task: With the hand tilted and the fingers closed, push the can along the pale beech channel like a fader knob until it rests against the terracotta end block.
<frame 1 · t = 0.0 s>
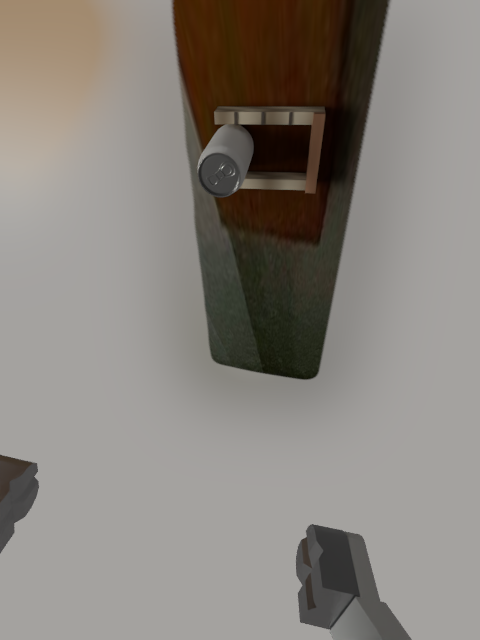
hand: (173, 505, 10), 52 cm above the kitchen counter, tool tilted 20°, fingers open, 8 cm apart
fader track: (259, 146, 51), on the kitchen counter
can: (233, 145, 52), on the kitchen counter
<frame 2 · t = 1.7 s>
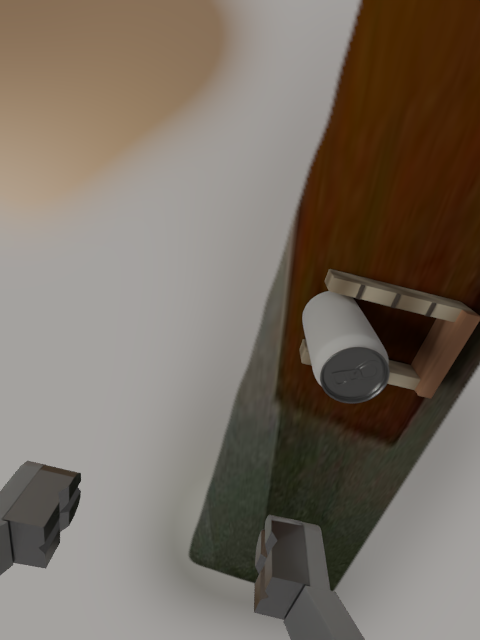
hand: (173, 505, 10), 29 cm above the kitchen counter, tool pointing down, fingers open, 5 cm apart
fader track: (363, 323, 39), on the kitchen counter
can: (329, 314, 39), on the kitchen counter
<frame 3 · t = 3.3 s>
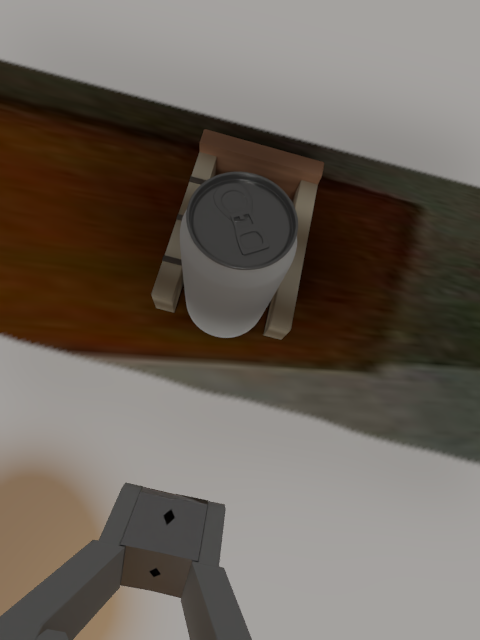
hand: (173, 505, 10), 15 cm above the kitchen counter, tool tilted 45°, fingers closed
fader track: (235, 260, 29), on the kitchen counter
can: (224, 302, 28), on the kitchen counter
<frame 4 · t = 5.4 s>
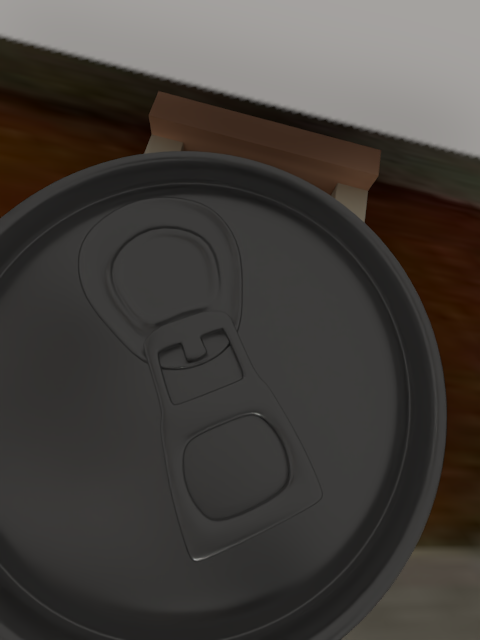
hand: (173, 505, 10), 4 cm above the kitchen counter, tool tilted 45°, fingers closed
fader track: (221, 329, 16), on the kitchen counter
can: (200, 412, 15), on the kitchen counter, touching gripper
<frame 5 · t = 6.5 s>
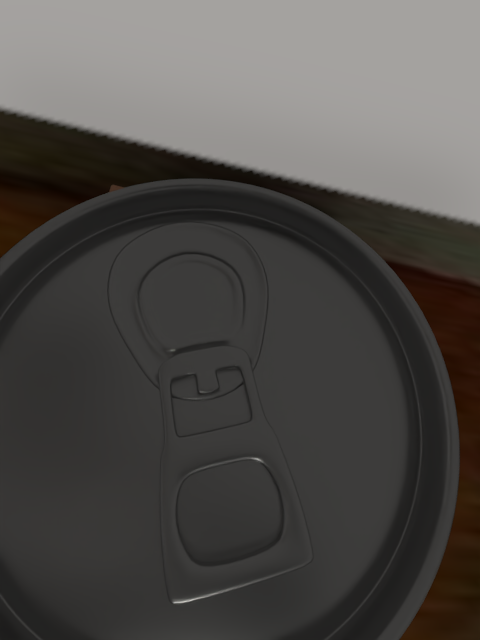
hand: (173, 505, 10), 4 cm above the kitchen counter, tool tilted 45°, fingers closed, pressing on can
can: (202, 420, 15), on the kitchen counter, touching gripper
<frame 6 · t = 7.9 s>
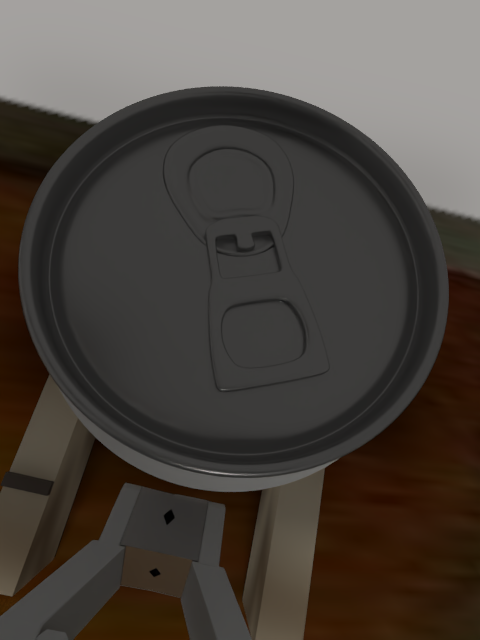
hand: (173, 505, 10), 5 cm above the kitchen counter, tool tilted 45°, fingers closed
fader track: (189, 422, 15), on the kitchen counter
can: (213, 377, 16), on the kitchen counter
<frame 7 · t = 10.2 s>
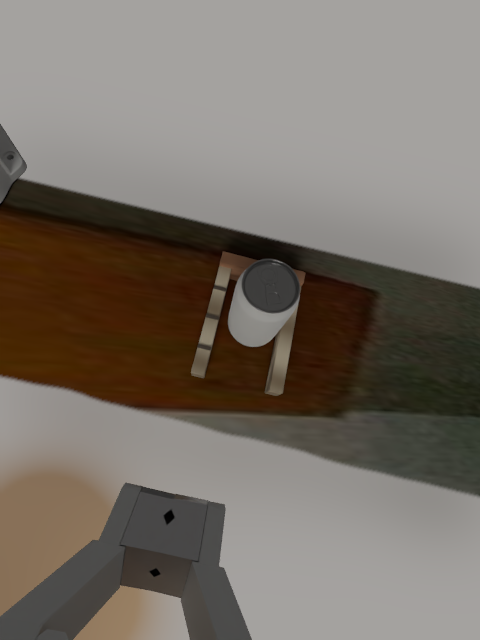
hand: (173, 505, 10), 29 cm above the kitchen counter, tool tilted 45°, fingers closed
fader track: (245, 338, 42), on the kitchen counter
can: (252, 323, 43), on the kitchen counter
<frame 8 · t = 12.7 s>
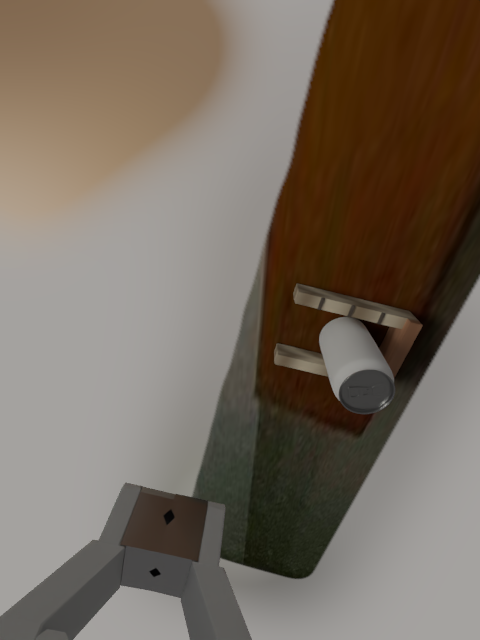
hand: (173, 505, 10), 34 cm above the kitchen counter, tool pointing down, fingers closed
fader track: (328, 329, 45), on the kitchen counter
can: (342, 336, 45), on the kitchen counter
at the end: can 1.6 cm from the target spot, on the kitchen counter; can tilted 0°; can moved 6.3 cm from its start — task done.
